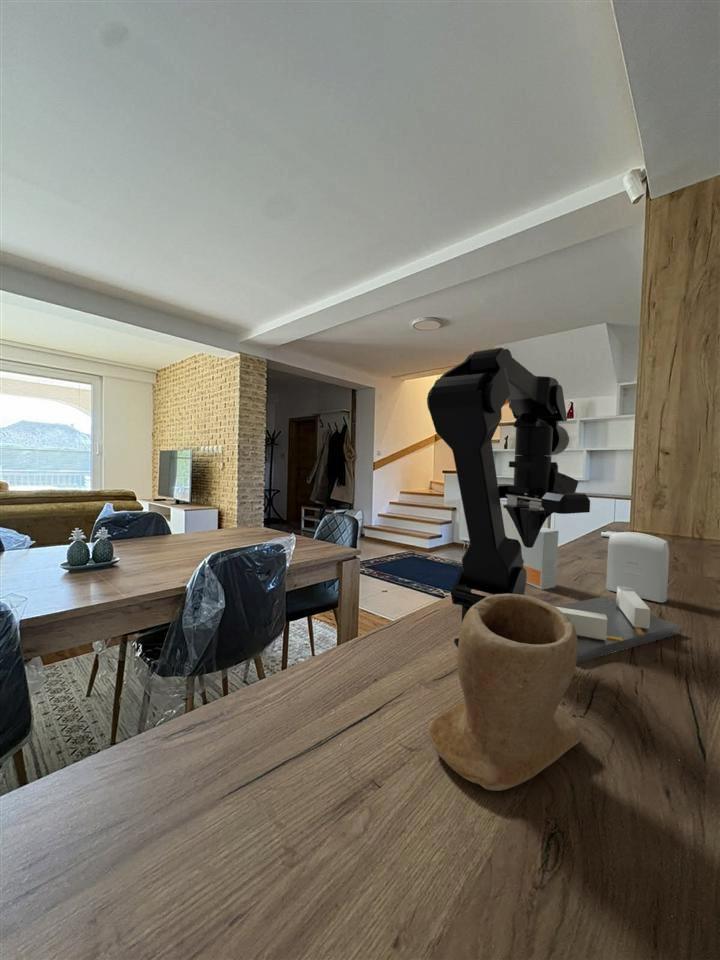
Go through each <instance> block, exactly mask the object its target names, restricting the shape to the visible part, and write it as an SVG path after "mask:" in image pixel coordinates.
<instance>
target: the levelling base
mask: <svg viewBox="0 0 720 960" xmlns="http://www.w3.org/2000/svg"><path fill="white" fill-rule="evenodd" d="M554 607H561V608H567V609H574V610H580V611H586V612H593V613H599V614H606V616H607V635H606V640H602V639H597V638H591V637H585V636H580V635H577V642H578V644H577V662H576V665H577V664H580V663H584V662H588V661H591V660H594V658H595V659H597V658H596V657H598V658H600V657H599V656H601V655H605V654H608V653H611V652H614V651H618V650H622V649H626V648H630V649H632V648H631V647H633V648H635V646H637V647H639V646H638V645H640V646H643V645H642V644H644V645H646V644H650V643H649V642H651V643H653V641H654V642H657V641H656V640H658V641H660V640H659V639H661V640H664V639H663V638H665V639H667V638H666V637H668V638H671V637H670V636H672V637H674V636H673V635H675V636H677V635H676V634H678V635H679V630H680V629H679V627H680V625H679V624H676V623H674V622H672V621H668V620H665V619H663V618H660V617H657V616H654V615H653V614H650V625H649V629H648V628H640V627H634V626H633V625H632V623H631V622H630V621H629V619H628V618H627V617H626V615H625V614H624V613H623V611H622V610H621V609H620V607H619V606H617V605H616V601H613V600H611V599H608V598H605V597H602V596H599V597H595V598H590V599H585V600H580V601H574V602H570V603H566V604H561V605H556V606H554ZM626 650H627V649H626ZM605 656H606V655H605Z"/></svg>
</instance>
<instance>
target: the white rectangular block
mask: <svg viewBox="0 0 720 960" xmlns="http://www.w3.org/2000/svg"><path fill="white" fill-rule="evenodd" d="M556 608H557V609H559V610H560V611H561V612H562V613H563V614H564V615H565V616H566V617H567V618H569V620H570V621H571V623H572V624H573V626H574V627H575V630H576V634H577V635H580V636H585V637H591V638H597V639H602V640H606V635H607V616H606V614H599V613H593V612H586V611H580V610H574V609H567V608H561V607H556Z"/></svg>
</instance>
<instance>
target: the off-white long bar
mask: <svg viewBox="0 0 720 960" xmlns="http://www.w3.org/2000/svg"><path fill="white" fill-rule="evenodd" d="M615 602H616V605H617V606H619V607H620V609H621V610H622V611H623V613H624V614H625V615H626V617H627V618H628V619H629V621H630V622H631V623H632V625H633V626H634V627H640V628H648V629H649V625H650V615H651V610H652V609H651V608H650V607H649V606H648V605H647V604H646V602H645V601H643V599H642V598H640V597H639V596H638V595H637V594H636V593H635V592H634V590H633V589H631V588H628V587H618V586H617V592H616V601H615Z"/></svg>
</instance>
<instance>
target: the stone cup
mask: <svg viewBox="0 0 720 960" xmlns="http://www.w3.org/2000/svg"><path fill="white" fill-rule="evenodd" d="M458 638H459V643H458V645H457V652H456V653H457V657H456V659H457V660H456V661H457V662H456V663H457V671H458V673H457V674H458V679H459V682H460V686H461V689H462V692H463V698H464V701H462V702H460V703H458V704H456V705H454V706H452V707H450V708H448V709H447V710H445V711H443V712H442V713H440V714H438V715H437V716H436V717H435V718H434V719H432V720H431V722H429V724H428V727H427V733H428V738H429V740H430V743H431V745H432V747H433V748H434V750H435V752H436V753H437V754H438V755H439V757H440V758H441V759H442V760H443V761H444V763H446V764H447V766H449V767H450V768H451V769H452V770H453V771H454V772H456V774H458V775H459V776H461V778H463V779H465V780H467V781H469V782H471V783H474V784H477V785H480V787H482V788H484V789H485V790H488V791H498V792H499V791H500V792H501V791H504V790H508V789H511V788H514V787H516V786H518V785H519V786H520V784H523V783H525V782H527V781H529V780H530V779H532V778H534V777H535V776H537V775H538V774H539V773H541V772H542V771H544V770H545V769H546V768H547V767H549V766H550V765H551V764H554V763H555V762H556V761H557V760H558V759H559V758H561V757H562V756H563V755H565V753H567V752H568V751H569V750H571V749H572V748H574V746H576V745H577V744H578V743H579V742H580V741H581V740H582V738H583V733H582V731H581V729H580V728H579V726H578V725H577V722H576V721H574V720H573V719H572V718H571V716H570V715H569V714H568V712H567V711H566V710H565V709H564V707H562V706H561V705H560V703H561V701H562V699H563V697H564V695H565V693H566V691H567V689H569V686H570V685H571V682H572V679H573V677H574V674H575V671H576V666H577V664H576V662H577V644H578V642H577V634H576V630H575V627H574V626H573V624H572V623H571V621H570V620H569V618H567V617H566V616H565V615H564V614H563V613H562V612H561V611H560V610H559V609H557V608H556V607H555V606H554V605H552V604H550V603H549V602H547V601H545V600H542V599H539V598H536V597H535V596H529V595H525V594H524V595H519V594H495V595H493V594H491V595H488V596H487V597H486V598H484V599H482V600H481V601H479V602H477V603H476V604H475V605H473V606H472V607H471V608H470V609H469V610H468V612H467V613H466V615H465V617H464V619H463V622H462V621H461V626H460V630H459V637H458Z"/></svg>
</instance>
